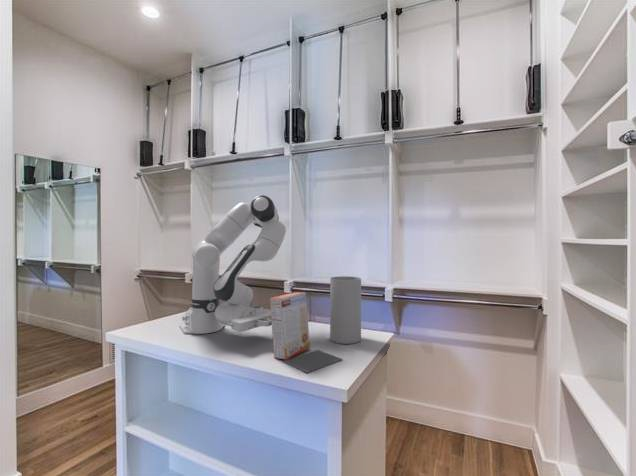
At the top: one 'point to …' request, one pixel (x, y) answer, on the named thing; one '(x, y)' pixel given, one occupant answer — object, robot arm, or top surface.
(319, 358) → the mat
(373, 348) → the top surface
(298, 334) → the cracker box
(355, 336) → the cylinder vase
